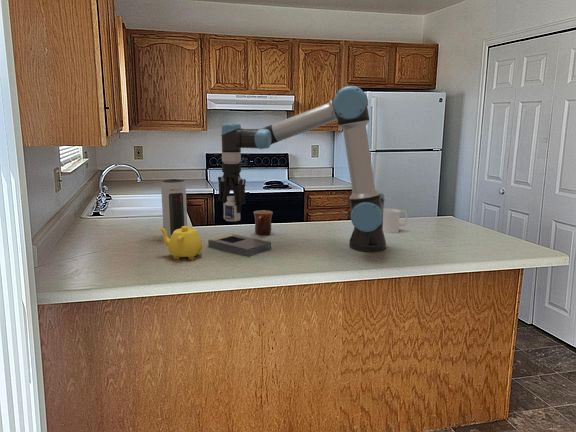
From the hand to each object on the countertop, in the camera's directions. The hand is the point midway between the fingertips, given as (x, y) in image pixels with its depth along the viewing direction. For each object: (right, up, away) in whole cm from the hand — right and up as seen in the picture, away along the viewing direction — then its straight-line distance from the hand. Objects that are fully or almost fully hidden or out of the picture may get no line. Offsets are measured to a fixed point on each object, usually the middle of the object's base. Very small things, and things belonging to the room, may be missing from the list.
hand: (232, 219), depth 199 cm
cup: (+73, -6, +33) cm, 81 cm away
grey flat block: (+3, -12, 0) cm, 12 cm away
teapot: (-18, -14, -12) cm, 26 cm away
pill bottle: (0, -1, 0) cm, 1 cm away
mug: (+11, -7, +22) cm, 26 cm away
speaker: (-26, -9, +14) cm, 31 cm away
